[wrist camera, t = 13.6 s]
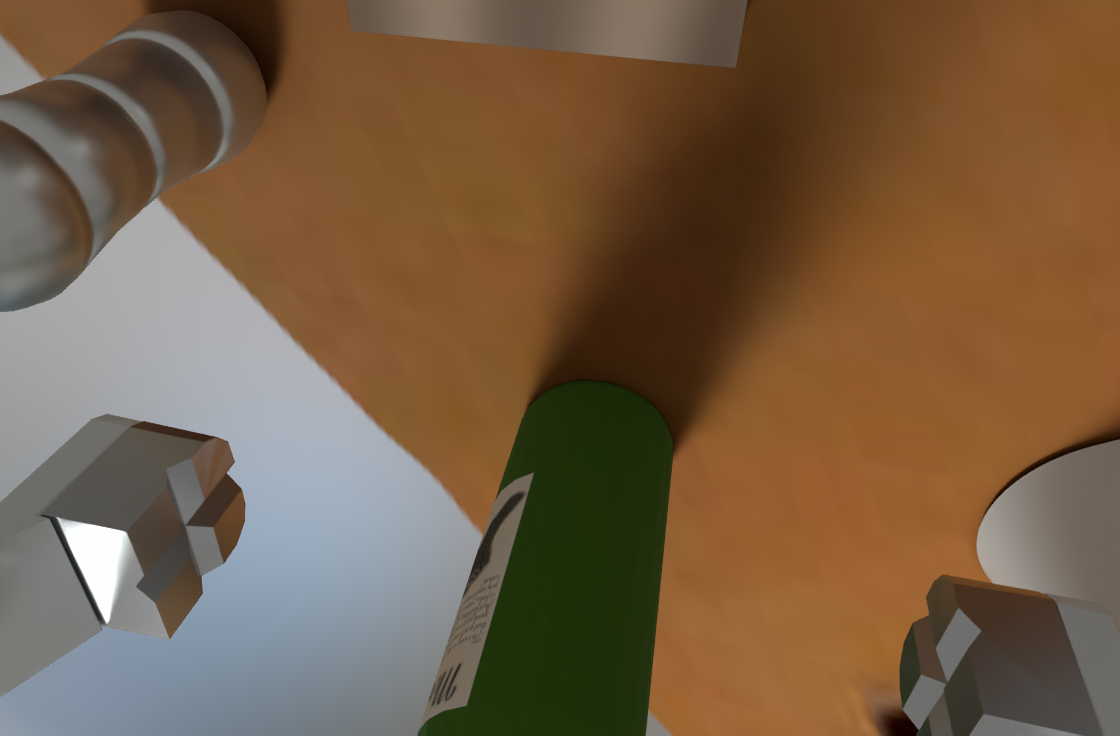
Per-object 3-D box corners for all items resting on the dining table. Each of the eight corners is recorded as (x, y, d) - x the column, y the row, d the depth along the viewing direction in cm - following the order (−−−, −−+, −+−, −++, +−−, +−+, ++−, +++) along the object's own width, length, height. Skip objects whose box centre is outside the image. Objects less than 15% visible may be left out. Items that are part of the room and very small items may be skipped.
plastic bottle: (125, 72, 37) (-314, 300, 22) (188, -39, 34) (-286, 139, 18) (241, 169, 40) (-85, 440, 24) (311, 74, 36) (-20, 321, 20)
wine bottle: (544, 356, 43) (265, 1212, 18) (698, 411, 44) (639, 1325, 18) (504, 463, 49) (248, 1231, 23) (641, 511, 49) (534, 1317, 24)
